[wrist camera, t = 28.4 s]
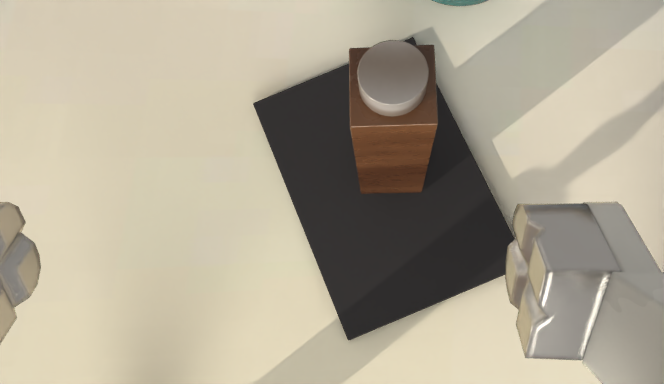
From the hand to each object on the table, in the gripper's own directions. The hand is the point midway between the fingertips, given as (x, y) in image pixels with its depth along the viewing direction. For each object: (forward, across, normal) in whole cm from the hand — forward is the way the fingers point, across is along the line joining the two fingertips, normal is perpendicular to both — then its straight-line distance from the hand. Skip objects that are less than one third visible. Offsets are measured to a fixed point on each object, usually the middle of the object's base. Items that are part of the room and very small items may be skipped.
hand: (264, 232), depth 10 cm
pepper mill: (+31, -4, +19) cm, 36 cm away
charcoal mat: (+30, -3, +20) cm, 36 cm away
